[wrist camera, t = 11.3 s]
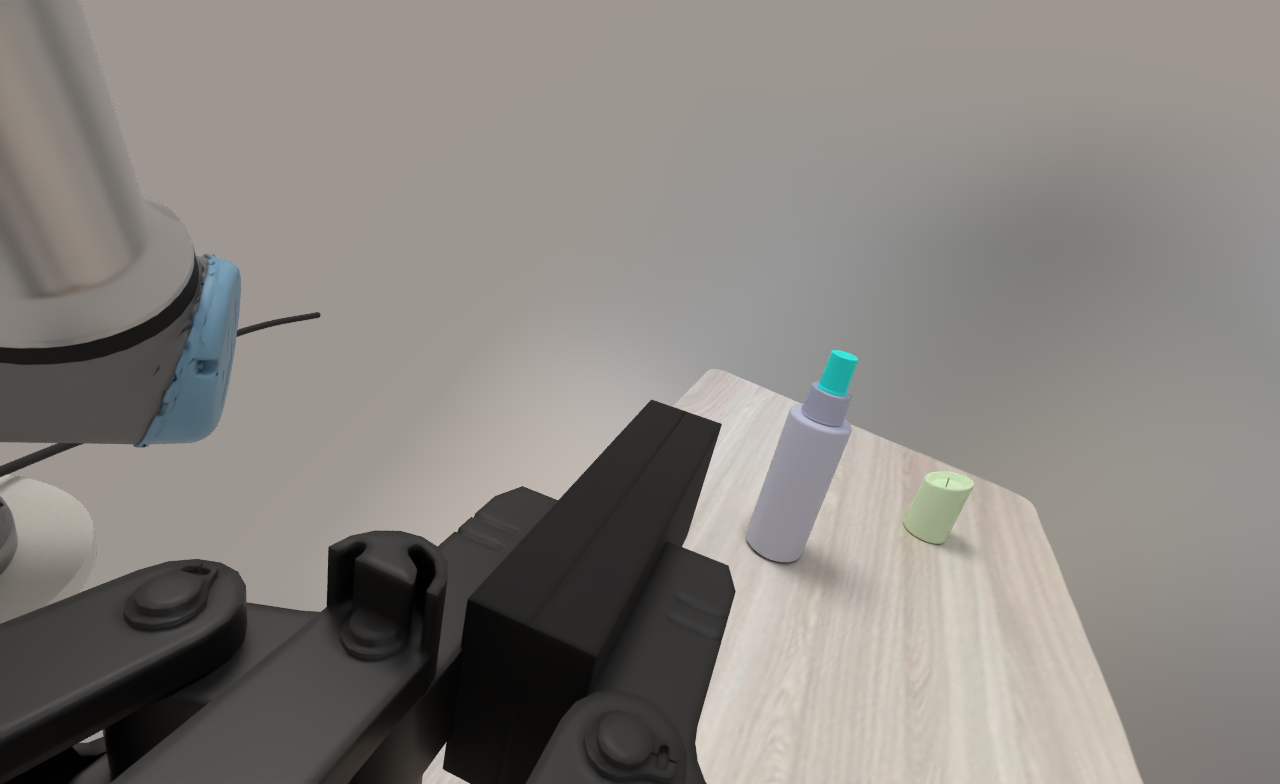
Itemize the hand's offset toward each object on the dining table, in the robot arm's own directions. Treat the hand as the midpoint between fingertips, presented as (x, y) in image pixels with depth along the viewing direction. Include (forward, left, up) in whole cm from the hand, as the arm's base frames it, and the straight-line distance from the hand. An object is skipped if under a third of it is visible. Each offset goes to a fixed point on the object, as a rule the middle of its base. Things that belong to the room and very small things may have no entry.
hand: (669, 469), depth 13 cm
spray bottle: (-40, +24, -30) cm, 56 cm away
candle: (-47, +46, -30) cm, 73 cm away
